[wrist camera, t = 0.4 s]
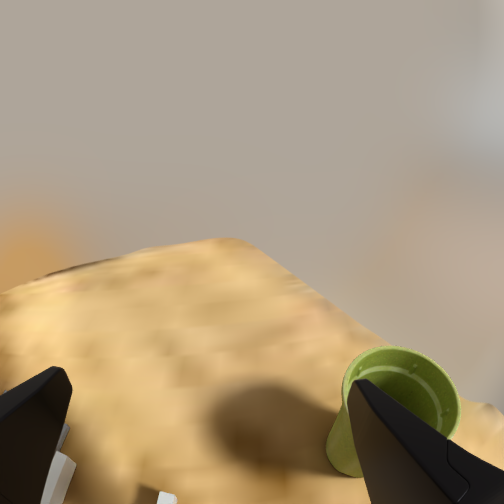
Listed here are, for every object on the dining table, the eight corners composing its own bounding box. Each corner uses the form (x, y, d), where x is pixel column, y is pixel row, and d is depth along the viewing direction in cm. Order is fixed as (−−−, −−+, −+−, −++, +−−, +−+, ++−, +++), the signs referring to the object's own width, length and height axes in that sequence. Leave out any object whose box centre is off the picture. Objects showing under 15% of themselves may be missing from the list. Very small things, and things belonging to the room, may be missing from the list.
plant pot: (289, 422, 22) (318, 361, 17) (373, 394, 24) (414, 333, 20) (331, 512, 14) (389, 483, 10) (419, 464, 17) (480, 414, 13)
